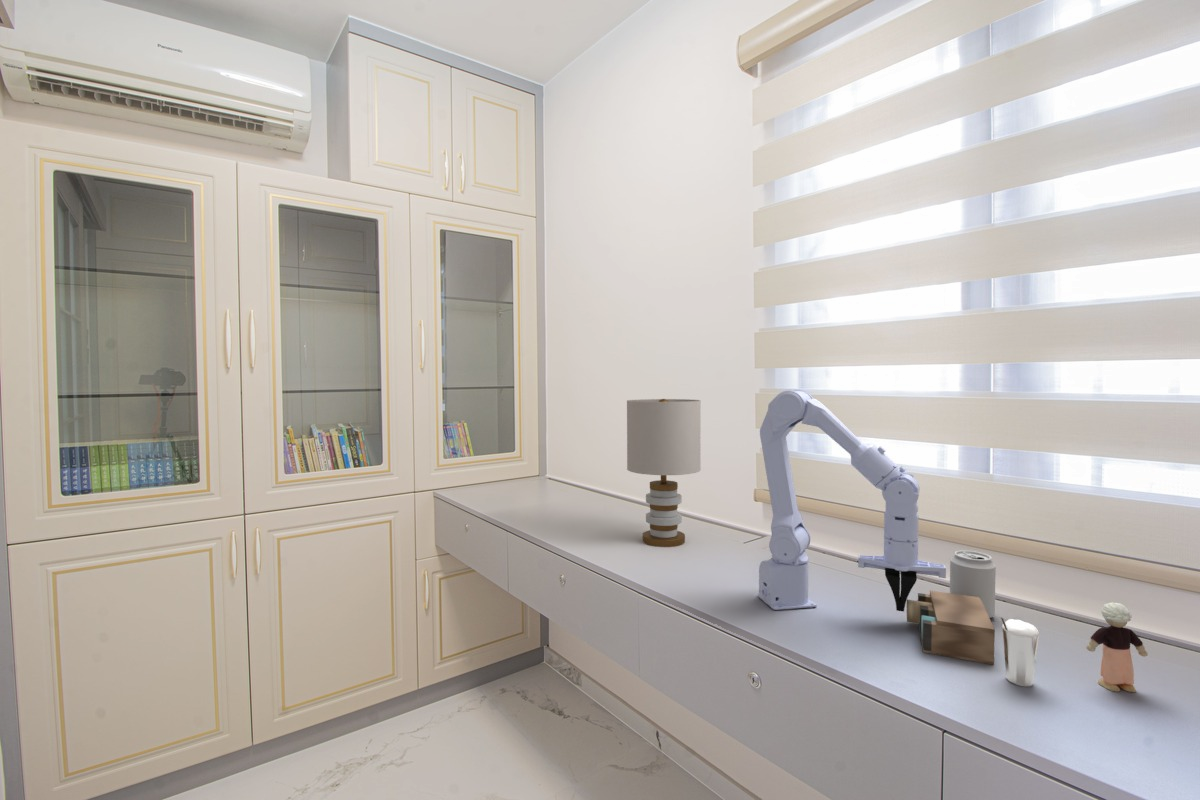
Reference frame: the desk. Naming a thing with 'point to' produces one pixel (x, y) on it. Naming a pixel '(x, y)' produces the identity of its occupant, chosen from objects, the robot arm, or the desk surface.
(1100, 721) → the desk surface
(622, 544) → the desk surface
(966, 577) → the can
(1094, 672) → the desk surface
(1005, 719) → the desk surface
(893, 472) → the robot arm
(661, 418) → the lamp
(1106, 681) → the grandmother figurine
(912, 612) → the beech peg
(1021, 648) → the milkshake
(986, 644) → the walnut block
